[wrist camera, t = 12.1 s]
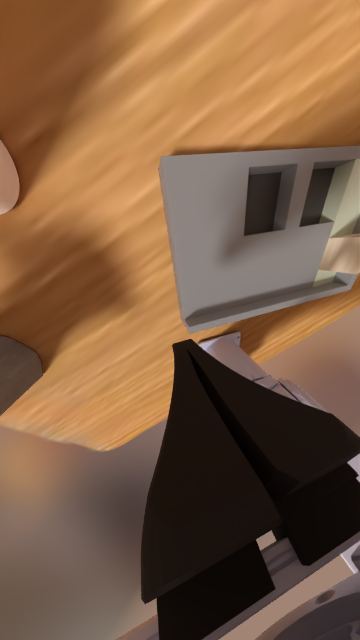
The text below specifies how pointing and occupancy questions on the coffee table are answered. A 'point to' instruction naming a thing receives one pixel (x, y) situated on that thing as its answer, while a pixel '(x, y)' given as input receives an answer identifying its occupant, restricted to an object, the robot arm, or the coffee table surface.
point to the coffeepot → (16, 371)
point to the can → (7, 181)
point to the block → (342, 254)
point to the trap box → (257, 228)
